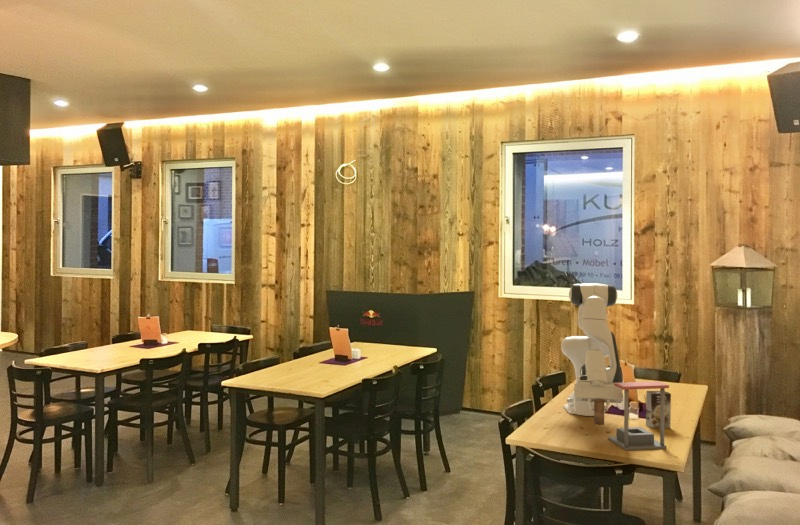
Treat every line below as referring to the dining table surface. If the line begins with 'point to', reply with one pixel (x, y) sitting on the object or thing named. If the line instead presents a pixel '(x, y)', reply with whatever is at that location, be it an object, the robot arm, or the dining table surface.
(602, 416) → the walnut peg
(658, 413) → the coffee box
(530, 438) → the dining table surface
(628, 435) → the socket stand
